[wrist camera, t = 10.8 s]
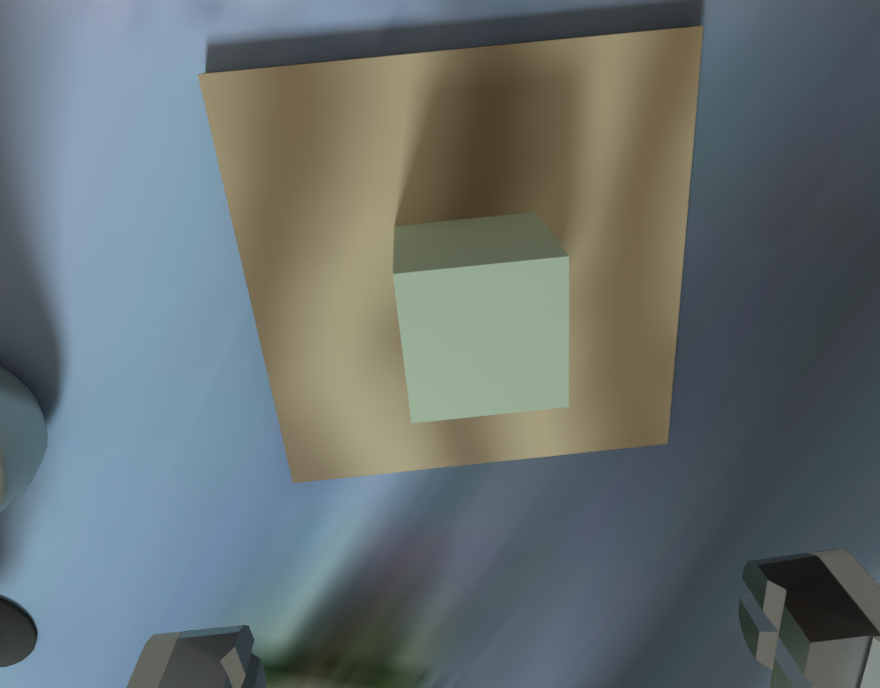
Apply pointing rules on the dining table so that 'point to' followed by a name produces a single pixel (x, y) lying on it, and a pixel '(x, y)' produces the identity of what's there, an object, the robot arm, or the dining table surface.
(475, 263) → the sage block
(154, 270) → the dining table surface
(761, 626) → the robot arm
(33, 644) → the sundae
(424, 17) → the dining table surface
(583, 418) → the tan square board
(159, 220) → the dining table surface
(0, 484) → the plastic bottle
